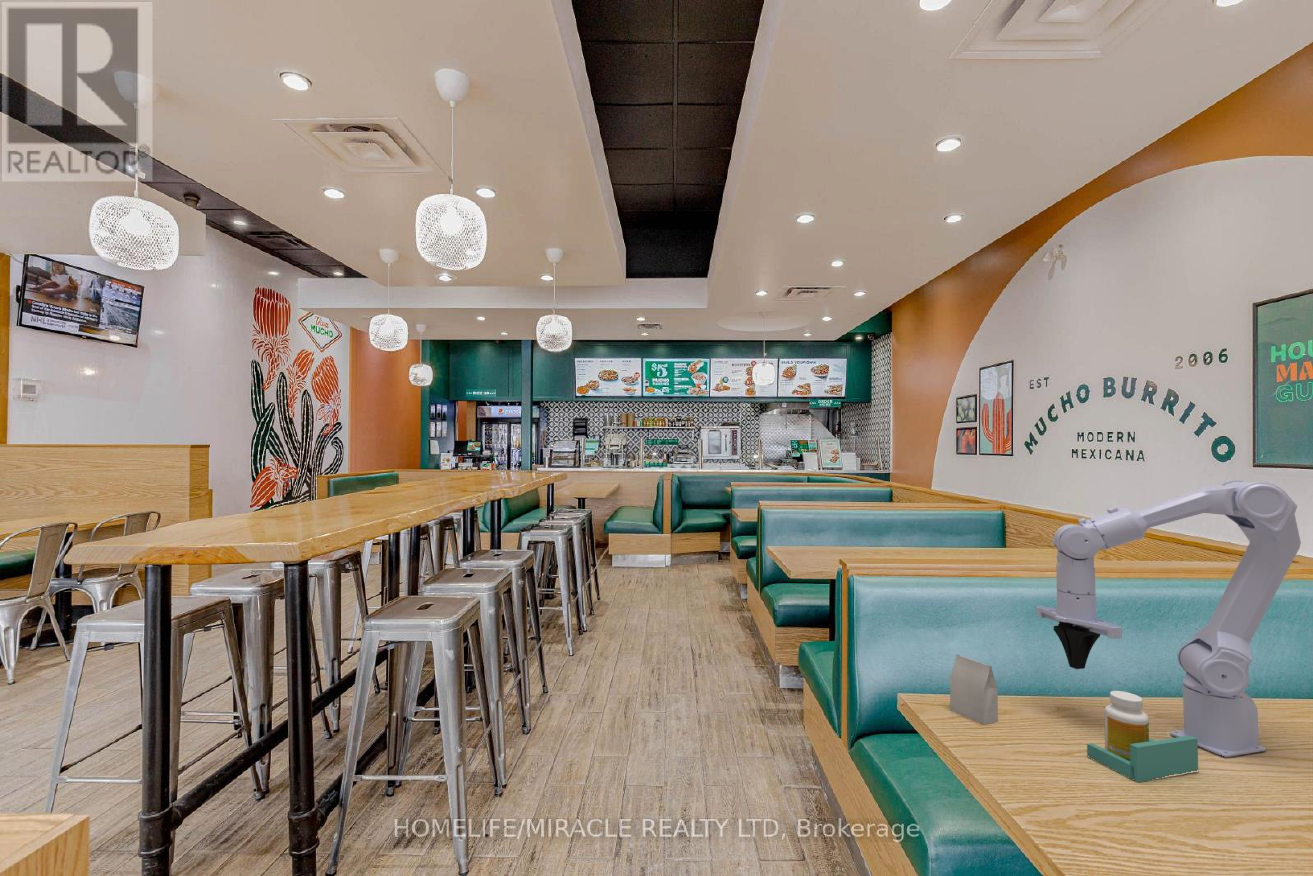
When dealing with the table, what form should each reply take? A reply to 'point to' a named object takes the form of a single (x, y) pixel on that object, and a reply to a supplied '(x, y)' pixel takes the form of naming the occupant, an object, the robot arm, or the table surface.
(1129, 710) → the supplement bottle
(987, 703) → the tea bag
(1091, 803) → the table surface
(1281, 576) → the robot arm
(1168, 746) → the dock
